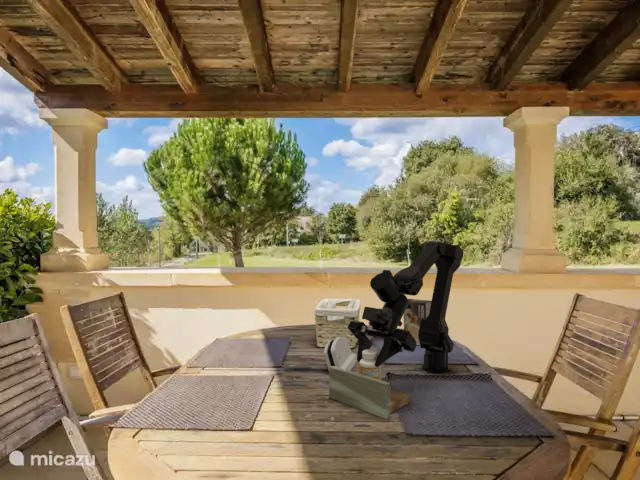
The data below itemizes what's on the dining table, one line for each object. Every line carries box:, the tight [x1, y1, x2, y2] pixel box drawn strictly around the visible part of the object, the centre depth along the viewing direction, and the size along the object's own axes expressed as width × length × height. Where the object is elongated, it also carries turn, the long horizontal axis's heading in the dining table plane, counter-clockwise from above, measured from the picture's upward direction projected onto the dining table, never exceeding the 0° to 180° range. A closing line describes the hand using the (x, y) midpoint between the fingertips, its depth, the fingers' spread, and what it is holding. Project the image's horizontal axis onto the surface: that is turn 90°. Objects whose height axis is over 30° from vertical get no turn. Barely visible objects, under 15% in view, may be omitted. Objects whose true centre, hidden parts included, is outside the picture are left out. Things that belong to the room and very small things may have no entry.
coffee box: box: [403, 298, 432, 346], centre depth 164 cm, size 9×6×16 cm
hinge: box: [323, 337, 358, 371], centre depth 139 cm, size 17×5×10 cm, turn 163°
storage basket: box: [314, 298, 362, 349], centre depth 169 cm, size 24×16×15 cm
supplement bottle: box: [358, 348, 382, 380], centre depth 111 cm, size 5×5×10 cm
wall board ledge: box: [328, 366, 411, 420], centre depth 112 cm, size 12×18×8 cm, turn 46°
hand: (366, 363), depth 110 cm, fingers closed on supplement bottle, 5 cm apart
